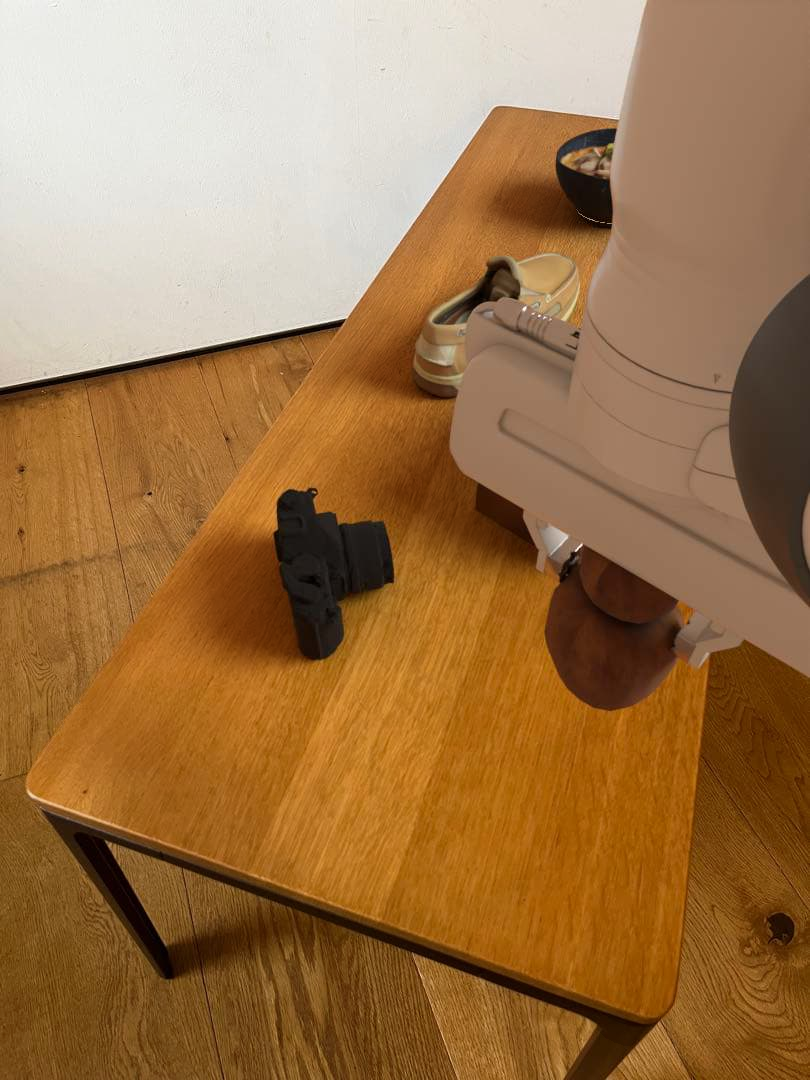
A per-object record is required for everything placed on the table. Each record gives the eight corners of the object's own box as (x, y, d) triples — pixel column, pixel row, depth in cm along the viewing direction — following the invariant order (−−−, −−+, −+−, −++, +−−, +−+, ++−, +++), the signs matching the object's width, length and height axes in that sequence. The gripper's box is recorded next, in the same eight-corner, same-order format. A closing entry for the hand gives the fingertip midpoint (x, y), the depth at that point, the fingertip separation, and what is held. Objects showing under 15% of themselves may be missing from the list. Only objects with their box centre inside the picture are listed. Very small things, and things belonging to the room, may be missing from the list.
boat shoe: (596, 300, 102) (613, 217, 94) (475, 419, 87) (482, 333, 78) (527, 275, 106) (537, 194, 98) (399, 384, 91) (398, 299, 82)
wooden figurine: (680, 697, 42) (775, 505, 31) (598, 748, 41) (667, 564, 29) (598, 610, 46) (656, 412, 35) (519, 654, 44) (554, 459, 33)
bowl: (530, 226, 115) (539, 156, 107) (573, 179, 125) (583, 112, 117) (644, 254, 109) (661, 183, 102) (679, 203, 119) (697, 134, 112)
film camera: (407, 648, 67) (406, 584, 60) (294, 668, 66) (280, 605, 59) (376, 520, 77) (372, 452, 70) (277, 535, 76) (263, 468, 69)
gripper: (421, 314, 31) (420, 540, 42) (963, 578, 22) (790, 784, 33) (516, 253, 35) (493, 478, 45) (1026, 463, 25) (849, 685, 36)
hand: (621, 609), depth 39 cm, fingers closed on wooden figurine, 6 cm apart
